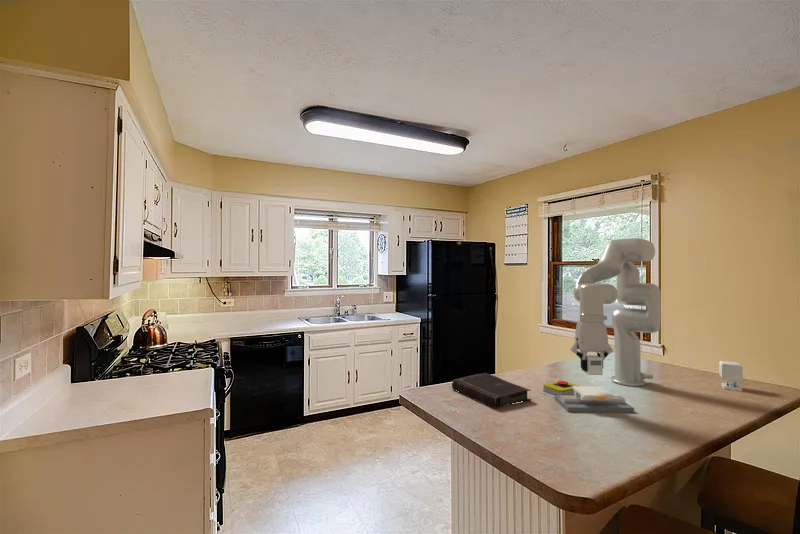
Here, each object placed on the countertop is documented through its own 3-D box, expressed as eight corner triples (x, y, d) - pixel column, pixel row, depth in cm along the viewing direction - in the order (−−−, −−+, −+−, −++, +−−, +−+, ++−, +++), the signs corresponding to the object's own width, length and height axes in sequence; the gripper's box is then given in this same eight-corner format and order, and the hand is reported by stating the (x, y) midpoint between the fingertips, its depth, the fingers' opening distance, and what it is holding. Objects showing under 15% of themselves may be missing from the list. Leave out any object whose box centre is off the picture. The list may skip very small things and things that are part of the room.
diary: (494, 411, 131) (494, 397, 131) (451, 391, 153) (451, 379, 153) (532, 401, 140) (532, 388, 140) (487, 384, 162) (487, 372, 162)
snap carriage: (600, 392, 138) (599, 386, 139) (615, 403, 128) (615, 396, 128) (572, 392, 139) (572, 386, 139) (585, 403, 128) (585, 396, 128)
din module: (594, 370, 137) (594, 354, 137) (602, 375, 130) (602, 357, 130) (581, 370, 137) (581, 354, 137) (589, 375, 131) (589, 357, 131)
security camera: (739, 387, 154) (739, 362, 154) (743, 391, 148) (743, 366, 148) (719, 384, 157) (719, 360, 157) (722, 389, 151) (722, 364, 152)
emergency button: (584, 382, 148) (557, 388, 141) (584, 394, 148) (557, 400, 141) (564, 377, 156) (537, 382, 149) (564, 387, 156) (538, 393, 149)
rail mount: (615, 400, 139) (615, 392, 139) (634, 412, 127) (633, 403, 127) (554, 399, 140) (554, 391, 140) (567, 411, 128) (567, 402, 128)
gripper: (610, 318, 137) (610, 368, 137) (563, 317, 138) (563, 367, 138) (621, 320, 130) (622, 373, 130) (571, 320, 131) (571, 373, 130)
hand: (591, 370), depth 134 cm, fingers closed on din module, 4 cm apart
